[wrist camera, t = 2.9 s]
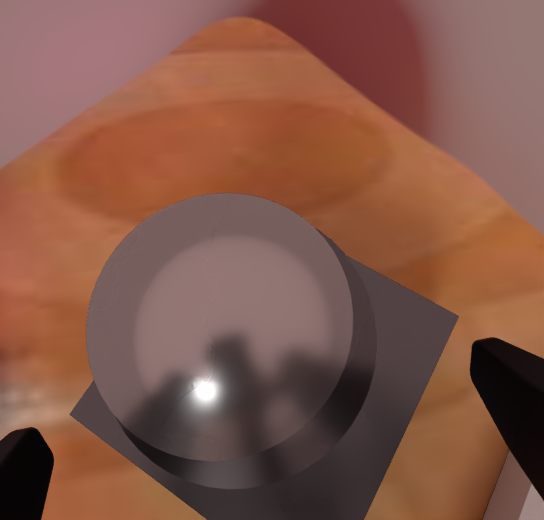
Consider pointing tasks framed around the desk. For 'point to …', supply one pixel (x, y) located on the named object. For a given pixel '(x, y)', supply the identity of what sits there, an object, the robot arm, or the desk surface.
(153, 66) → the desk surface
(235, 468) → the steel pin
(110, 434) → the hitch block
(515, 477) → the tray
